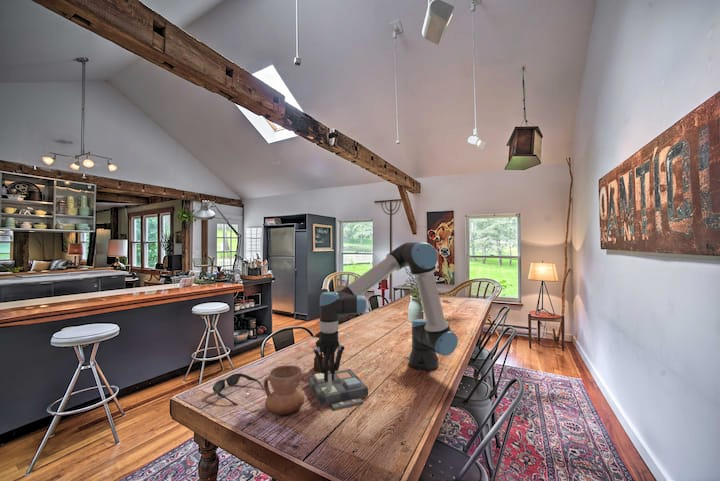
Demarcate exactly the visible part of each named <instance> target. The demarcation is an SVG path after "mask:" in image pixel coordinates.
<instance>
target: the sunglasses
mask: <svg viewBox="0 0 720 481" xmlns="http://www.w3.org/2000/svg"><path fill="white" fill-rule="evenodd" d="M240 378H245V379H246V380H248V381H254V382H257V384H258V385H259V386H260V388H261V389H262V390H263V391H265V389H264V385H263V384H262V383H261V381H259V380H258V379H256V378H254V377H252V376H249V375H247V374H244V373H233V374H231V375H229V376H228V377H226V378H224V379H220V380H217V381H216V383H214V384H213V385H212V391H213V393H214V395H217V396H218V397H221V398H224V399H225V400H227V401H228V402H230V403H231V404H232V405H235V406H239V404H238V403H236V402H234V401H233V400H231V399H229V398H228V397H227V396H226V395H224V394H223V393H221V392H222V391H223V390H224V389H225V388H226V384H227V385H228V387H232V386H235V385H237V384H238V383H239V380H240Z"/></svg>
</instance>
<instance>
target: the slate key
mask: <svg viewBox="0 0 720 481" xmlns="http://www.w3.org/2000/svg"><path fill="white" fill-rule="evenodd" d="M344 385H345V386H346V388H347V389H352V388H357V387H361V383H360V381H359V380H358V379H357V378H356V377H354V378H349V379H344Z"/></svg>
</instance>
